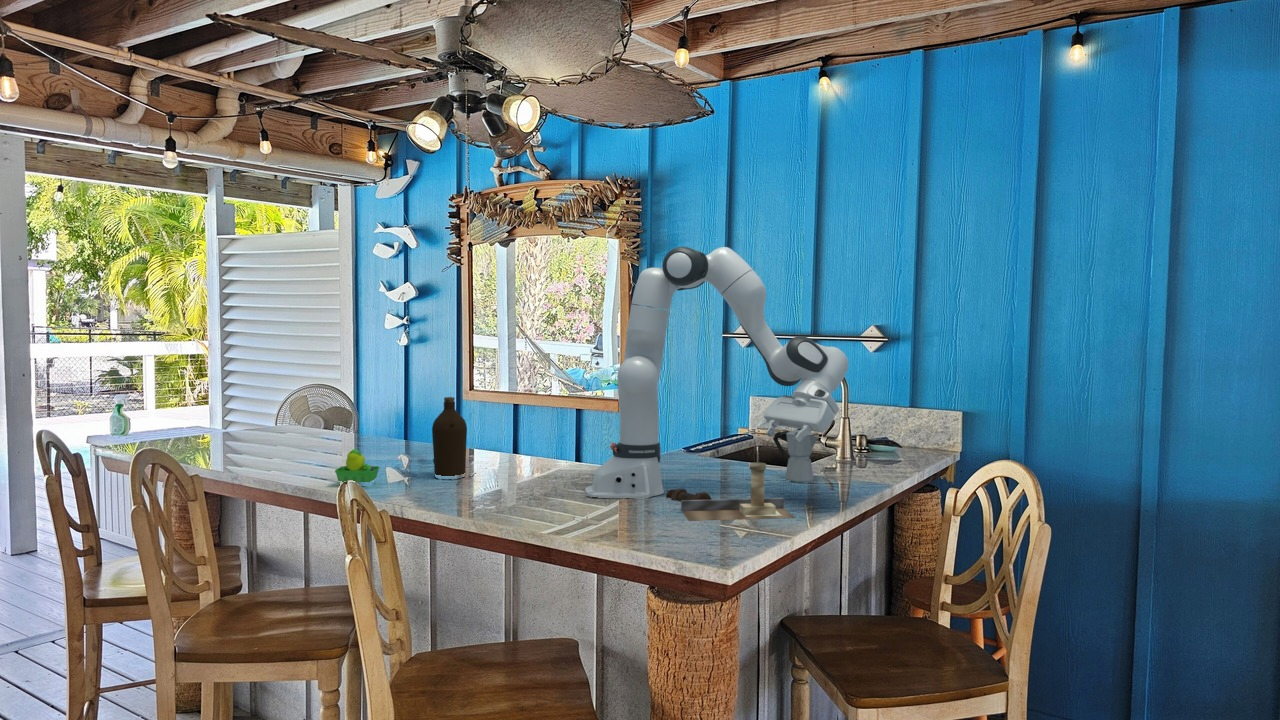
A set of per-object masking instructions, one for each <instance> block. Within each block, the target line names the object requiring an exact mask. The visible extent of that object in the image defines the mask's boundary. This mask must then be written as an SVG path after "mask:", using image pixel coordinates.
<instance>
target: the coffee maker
mask: <svg viewBox="0 0 1280 720" xmlns="http://www.w3.org/2000/svg"><path fill="white" fill-rule="evenodd" d="M800 430H802V429H797V428H796V429H795V430H788V429H787V430H783V431H778V432H776V434H775V435H774V437H772V440H773V442H774V444H775V445H776V447H777V449H778V451H779V453H780V455H781V457H784V456H785V455H786V452H785V450H784V448H783V447H782V444H781V443H780V441H779V439H780V440H782V441H784V442H786V443H787V451H788V455H789V457H788V460H787V465H786V473H785V477H784V480H785V479H786V480H789V481H795V482H810V483H812V482H814V481H815V479H814V471H813V465H812V460H811V458H810V456H812V450H813V448H814V447H815V444H816V443H817V441H818V439H820V436H819V435H816V434H814V433H813V432H811V433H810V434H808V435H807V436H805V437H803V438H802V440H801V441H800V442H797V441H794V439H793V435H794V434H795V432H799V431H800ZM786 480H785V481H786ZM811 481H812V482H811Z"/></svg>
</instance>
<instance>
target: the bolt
mask: <svg viewBox="0 0 1280 720" xmlns="http://www.w3.org/2000/svg"><path fill="white" fill-rule="evenodd" d="M665 496H666V499H671V500H672V501H678V502H681V500H712V497H711V495H710V494H709V493H708V492H707V491H703V492H695V494H694V493H689V492H688V491H687V490H686V489H685V488H676V489H668V490H667V492H666V495H665Z"/></svg>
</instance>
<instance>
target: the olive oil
mask: <svg viewBox="0 0 1280 720" xmlns="http://www.w3.org/2000/svg"><path fill="white" fill-rule="evenodd" d="M431 433H432V434H431V436H432V447H433V448H432V450H433V453H432V454H433V459H432V461H433V470H434V473H435V474H436V475H441V476H455V475H461V474H464V473H465V474H466V473H467V472H466V469H467V467H466V465H467V462H466V461H467V459H466V458H467V433H468V427H467V423H466V420H465V419H464V417H462V415H460V413H459V412H458V411H457V410H456V401H455V397H454V396H445V397H444V399H443V410H442V411H441V412H440V414H439V415H437V417H436V418H435V419H434V421H433V423H432V426H431ZM435 474H434V475H435Z"/></svg>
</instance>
